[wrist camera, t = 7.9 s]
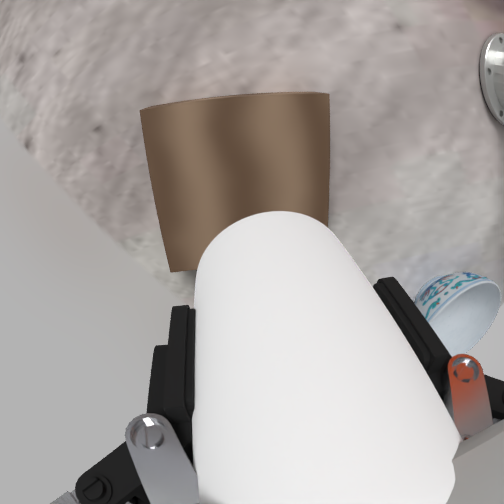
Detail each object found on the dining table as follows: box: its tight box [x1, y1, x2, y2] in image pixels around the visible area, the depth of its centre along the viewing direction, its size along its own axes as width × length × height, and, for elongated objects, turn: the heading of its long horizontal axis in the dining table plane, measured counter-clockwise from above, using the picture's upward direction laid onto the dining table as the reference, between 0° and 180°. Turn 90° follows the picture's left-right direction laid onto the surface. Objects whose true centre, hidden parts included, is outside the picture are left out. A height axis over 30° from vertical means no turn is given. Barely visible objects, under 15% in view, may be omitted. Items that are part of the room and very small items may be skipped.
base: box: [140, 92, 330, 272], centre depth 26 cm, size 14×14×4 cm
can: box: [192, 211, 463, 504], centre depth 8 cm, size 6×6×12 cm
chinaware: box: [415, 272, 501, 357], centre depth 36 cm, size 15×15×8 cm
